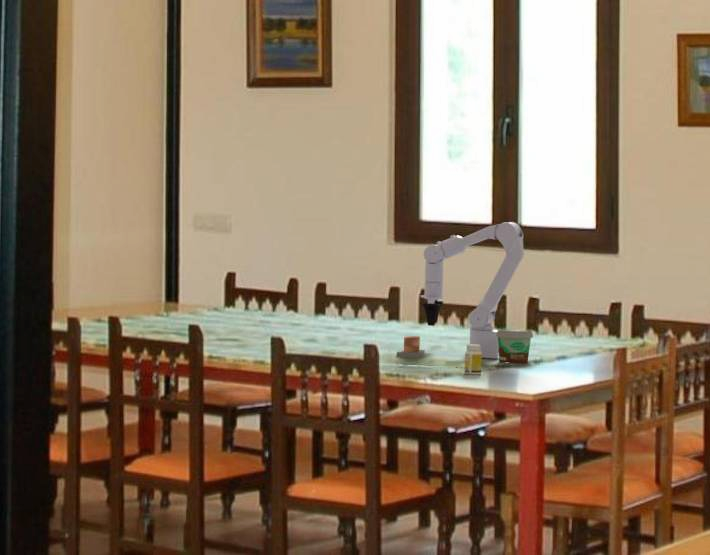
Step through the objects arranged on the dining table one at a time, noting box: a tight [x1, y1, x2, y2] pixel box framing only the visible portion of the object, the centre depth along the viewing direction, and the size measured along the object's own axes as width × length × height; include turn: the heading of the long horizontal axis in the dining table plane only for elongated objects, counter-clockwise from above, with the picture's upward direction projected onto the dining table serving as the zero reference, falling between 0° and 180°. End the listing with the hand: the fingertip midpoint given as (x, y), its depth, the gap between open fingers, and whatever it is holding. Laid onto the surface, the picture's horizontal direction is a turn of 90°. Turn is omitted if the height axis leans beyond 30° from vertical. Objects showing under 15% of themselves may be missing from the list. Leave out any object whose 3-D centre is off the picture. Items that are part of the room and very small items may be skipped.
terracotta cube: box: [403, 335, 421, 352], centre depth 434 cm, size 4×4×4 cm
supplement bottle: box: [464, 343, 483, 376], centre depth 401 cm, size 5×5×8 cm
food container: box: [496, 328, 534, 364], centre depth 430 cm, size 12×6×10 cm, turn 114°
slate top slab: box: [396, 348, 426, 359], centre depth 434 cm, size 8×8×2 cm
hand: (432, 324), depth 446 cm, fingers open, 7 cm apart
